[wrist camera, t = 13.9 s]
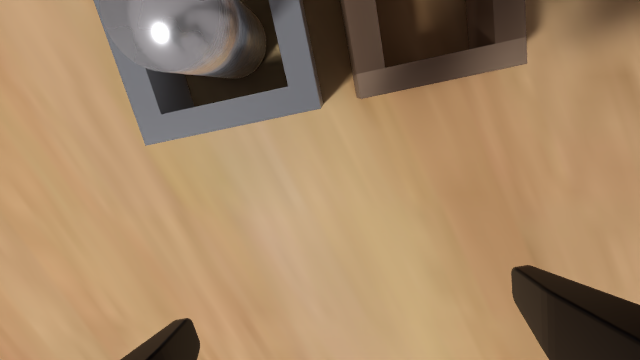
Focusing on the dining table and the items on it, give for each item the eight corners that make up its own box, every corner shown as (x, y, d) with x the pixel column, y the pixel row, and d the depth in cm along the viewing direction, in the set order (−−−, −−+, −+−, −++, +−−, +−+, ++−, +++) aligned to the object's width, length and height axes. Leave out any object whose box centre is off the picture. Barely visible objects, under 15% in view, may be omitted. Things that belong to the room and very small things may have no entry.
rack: (274, -139, 16) (255, -211, 12) (323, 104, 19) (321, 108, 15) (108, -91, 17) (42, -144, 13) (181, 134, 20) (145, 145, 16)
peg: (256, -5, 18) (196, -77, 10) (273, 70, 19) (232, 58, 11) (188, 12, 18) (79, -44, 10) (209, 85, 19) (124, 83, 11)
